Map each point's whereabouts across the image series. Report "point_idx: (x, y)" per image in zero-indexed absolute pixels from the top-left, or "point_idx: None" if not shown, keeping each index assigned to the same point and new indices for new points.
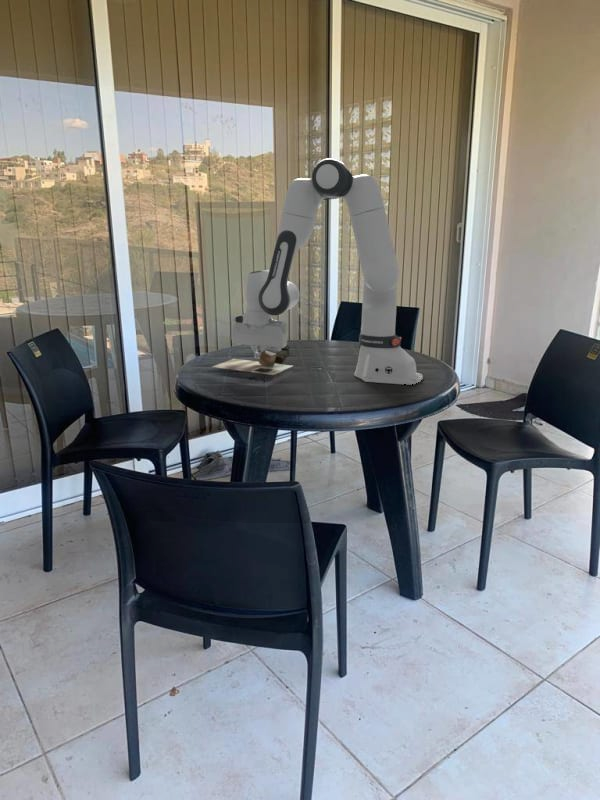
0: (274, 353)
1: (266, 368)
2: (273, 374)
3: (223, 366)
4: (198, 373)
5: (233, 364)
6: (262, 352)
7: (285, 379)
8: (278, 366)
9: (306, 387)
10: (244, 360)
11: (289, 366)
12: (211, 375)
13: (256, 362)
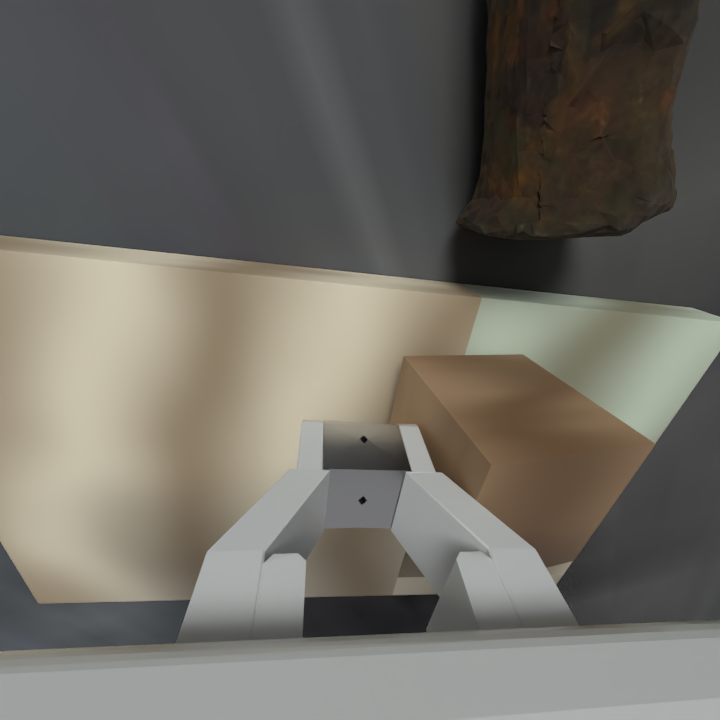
0: (627, 460)
1: None
2: None
3: (112, 569)
4: (48, 619)
5: (127, 497)
6: None
7: (601, 542)
8: None
9: (695, 597)
10: (69, 289)
11: (684, 370)
12: (157, 618)
13: (288, 338)
